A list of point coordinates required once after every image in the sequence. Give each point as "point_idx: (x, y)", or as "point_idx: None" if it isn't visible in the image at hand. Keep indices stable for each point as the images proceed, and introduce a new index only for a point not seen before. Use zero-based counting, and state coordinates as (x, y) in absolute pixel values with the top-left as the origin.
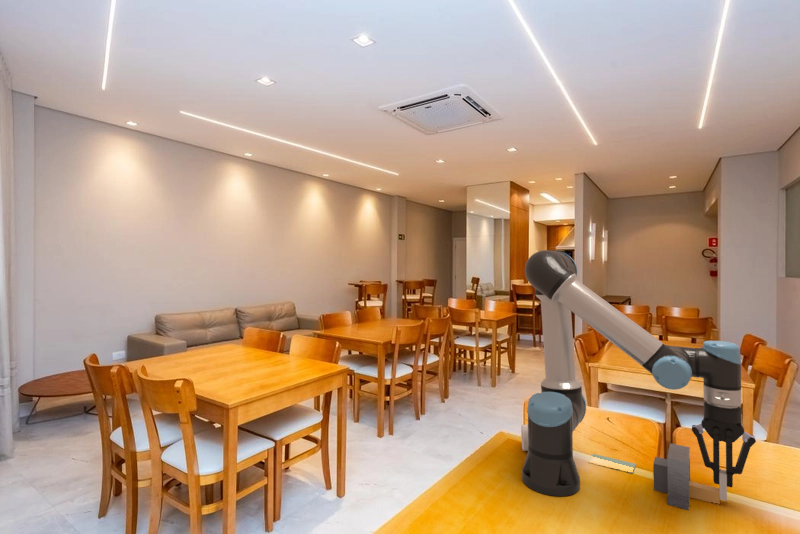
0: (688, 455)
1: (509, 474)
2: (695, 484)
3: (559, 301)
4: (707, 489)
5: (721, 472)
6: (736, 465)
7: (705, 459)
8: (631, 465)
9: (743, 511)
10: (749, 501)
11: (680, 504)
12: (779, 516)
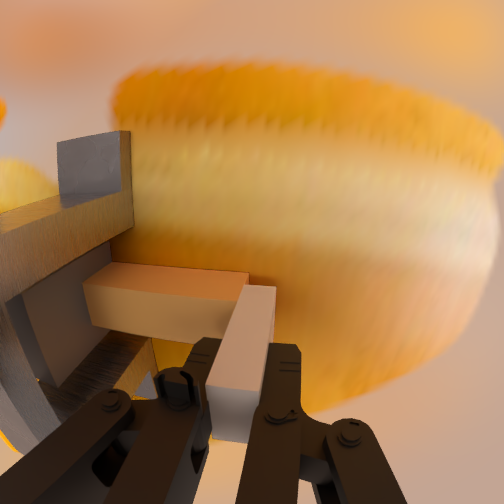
0: (24, 423)
1: None
2: (135, 309)
3: None
4: (187, 340)
5: (224, 427)
6: (333, 469)
7: (106, 473)
8: None
9: (334, 323)
10: (380, 205)
11: (137, 395)
12: (452, 289)
